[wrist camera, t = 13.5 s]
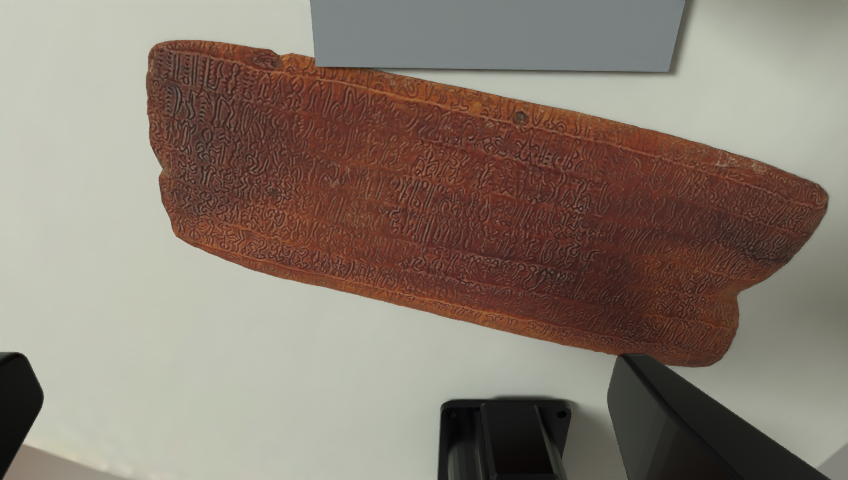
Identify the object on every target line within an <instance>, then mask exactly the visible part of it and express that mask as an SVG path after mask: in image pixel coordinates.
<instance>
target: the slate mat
mask: <svg viewBox="0 0 848 480" xmlns="http://www.w3.org/2000/svg"><path fill="white" fill-rule="evenodd" d="M685 1H686V0H310V5H311V17H312V29H313V41H314V53H315V65H316V67H381V68H447V69H512V70H577V71H643V72H669V67H670V63H671V59H672V55H673V51H674V46H675V42H676V38H677V34H678V30H679V26H680V21H681V17H682V13H683V9H684V5H685Z"/></svg>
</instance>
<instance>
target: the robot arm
mask: <svg viewBox="0 0 848 480" xmlns="http://www.w3.org/2000/svg"><path fill="white" fill-rule="evenodd" d="M43 400H44V394H43V390H42V388H41V386H40V384H39V381H38V379H37V377H36V375H35V373H34V371H33V369H32V367H31V364H30V362H29V360H28V359H27V357H26V356H25V355H23V354H22V353H18V352H0V480H3V478H4V476H5V474H6V473H7V471H8V468H9V467H10V465H11V463H12V461H13V459H14V458H15V456H16V454H17V452H18V450H19V449H20V447H21V445H22V443H23V441H24V439H25V438H26V436H27V434H28V432H29V430H30V428H31V427H32V425H33V423H34V421H35V419H36V417H37V416H38V414H39V412H40V410H41V408H42V405H43ZM607 403H608V408H609V412H610V416H611V419H612V423H613V426H614V430H615V434H616V437H617V441H618V444H619V448H620V452H621V455H622V459H623V462H624V466H625V470H626V473H627V477H628V480H831V479H829V478H828V477H826V476H825V475H823V474H822V473H821V472H819V471H818V470H816V469H815V468H813V467H812V466H810V465H809V464H807V463H806V462H805V461H803V460H802V459H800V458H799V457H797V456H796V455H794V454H793V453H791V452H790V451H789V450H787V449H786V448H784V447H783V446H781V445H780V444H778V443H777V442H775V441H774V440H773V439H771V438H770V437H768V436H767V435H765V434H764V433H762V432H761V431H759V430H758V429H757V428H755V427H754V426H752V425H751V424H749V423H748V422H746V421H745V420H744V419H742V418H741V417H739V416H738V415H736V414H735V413H733V412H732V411H730V410H729V409H728V408H726V407H725V406H723V405H722V404H720V403H719V402H717V401H716V400H714V399H713V398H712V397H710V396H709V395H707V394H706V393H704V392H703V391H701V390H700V389H698V388H697V387H696V386H694V385H693V384H691V383H690V382H688V381H687V380H685V379H684V378H682V377H681V376H680V375H678V374H677V373H675V372H674V371H672V370H671V369H669V368H668V367H666V366H665V365H664V364H662V363H661V362H659V361H658V360H656V359H655V358H653V357H652V356H650V355H649V354H646V353H622V354H620V355H619V356H618V357H617V359H616V362H615V365H614V369H613V373H612V377H611V381H610V385H609V388H608V393H607ZM448 411H453V412H448ZM559 411H561V412H559ZM570 419H571V410H570V407H569V405H568V403H566V402H564V401H448V402H445V403H443V404H442V405H441V408H440V430H439V452H438V475H437V480H567V476H566V473H565V470H564V467H563V464H562V455H563V451H564V446H565V441H566V437H567V432H568V428H569V423H570Z"/></svg>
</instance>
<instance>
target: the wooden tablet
mask: <svg viewBox="0 0 848 480" xmlns="http://www.w3.org/2000/svg"><path fill="white" fill-rule="evenodd" d="M146 88H147V96H148V100H147V115H148V118H149V124H150V127H149V139H150V145H151V147H152V149H153V151H154V153H155V155H156V157H157V159H158V161H159V163H160V165H161V167H162V168H163V170H162V172H161V174H160V176H159V186H160V192H161V199H162V203H163V205H164V207H165V209H166V211H167V213H168V215H169V218H170V221H171V225H172V229H173V232H174V233H175V235H176V237H178V238H180V239H181V240H183V241H185V242H186V243H188V244H190V245H191V246H194V247H197V248H200V249H202V250H204V251H206V252H208V253H210V254H213V255H215V256H218V257H220V258H222V259H225V260H227V261H230V262H233V263H236V264H238V265H241V266H243V267H245V268H248V269H251V270H254V271H258V272H262V273H266V274H268V275H272V276H275V277H278V278H282V279H288V280H294V281H298V282H301V283H305V284H310V285H315V286H322V287H327V288H330V289H334V290H338V291H342V292H347V293H352V294H356V295H360V296H363V297H367V298H372V299H376V300H380V301H385V302H389V303H392V304H396V305H399V306H405V307H409V308H413V309H417V310H421V311H426V312H430V313H433V314H436V315H439V316H443V317H447V318H451V319H455V320H462V321H465V322H469V323H474V324H477V325H480V326H485V327H489V328H492V329H497V330H501V331H505V332H510V333H514V334H518V335H522V336H526V337H531V338H535V339H539V340H545V341H549V342H554V343H558V344H561V345H566V346H571V347H578V348H583V349H588V350H592V351H595V352H603V353H606V354H613V355H617V356H619V355H620V354H622V353H646V354H649V355H650V356H652V357H653V358H655V359H656V360H658V361H659V362H661V363H662V364H664V365H670V366H684V367H705V366H711V365H713V364H714V363H716V362H718V361H719V360H721V359H722V357H723V355H724V354H725V353H726V352H727V351H728V349H729V347H730V345H731V342H732V340H733V338H734V336H735V335H736V330H737V328H738V319H739V309H738V302H737V295H738V294H739V293H740V291H743V290H745V289H747V288H750V287H752V286H753V285H755V284H758V283H760V282H762V281H764V280H766V279H767V278H769V277H770V276H771V275H772V274H773V273H775V272H776V271H777V270H779V269H780V268H781V267H782V266H784V265H785V264H787V263H788V262H789V261H790V260H791V258H792V257H793V256H794V255H795V254H796V253H797V252H798V251H799V250H800V249H801V247H802V246H803V245H804V243H805V242H806V241H807V240H808V239H809V238H810V236H811V235H812V234H813V232H814V230H815V229H816V228H817V226H818V225H819V223H820V221H821V219H822V217H823V216H824V214H825V212H826V208H827V200H828V195H827V193H826V192H825V191H824V189H822V188H821V187H820V186H819V185H818V184H815V183H813V182H811V181H808V180H806V179H802V178H799V177H797V176H796V175H793V174H789V173H787V172H785V171H782V170H780V169H777V168H775V167H773V166H770V165H767V164H764V163H762V162H759V161H756V160H753V159H750V158H746V157H743V156H740V155H736V154H732V153H729V152H726V151H724V150H720V149H715V148H712V147H711V146H708V145H705V144H701V143H697V142H693V141H689V140H686V139H682V138H679V137H676V136H672V135H668V134H664V133H660V132H657V131H653V130H648V129H643V128H638V127H636V126H633V125H627V124H623V123H619V122H616V121H612V120H607V119H603V118H599V117H595V116H591V115H587V114H583V113H579V112H575V111H570V110H565V109H559V108H554V107H549V106H544V105H539V104H534V103H529V102H525V101H521V100H516V99H511V98H506V97H501V96H498V95H493V94H488V93H484V92H479V91H475V90H471V89H466V88H461V87H456V86H451V85H446V84H441V83H436V82H431V81H426V80H422V79H417V78H412V77H407V76H402V75H396V74H391V73H386V72H381V71H376V70H371V69H367V68H363V67H316V65H315V58H312V57H308V56H303V55H298V54H293V53H290V54H286V55H281V56H280V55H276V54H275V53H274V52H272V51H271V50H269V49H261V48H252V47H247V46H240V45H235V44H228V43H221V42H213V41H201V40H175V41H166V42H162V43H159V44H156V45H155V46H154V47H153V48H152V49H151V51H150V53H149V56H148V72H147V75H146Z"/></svg>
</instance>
